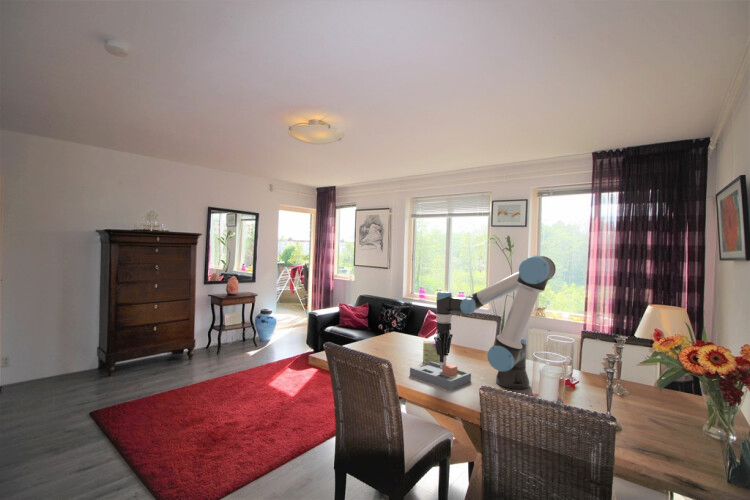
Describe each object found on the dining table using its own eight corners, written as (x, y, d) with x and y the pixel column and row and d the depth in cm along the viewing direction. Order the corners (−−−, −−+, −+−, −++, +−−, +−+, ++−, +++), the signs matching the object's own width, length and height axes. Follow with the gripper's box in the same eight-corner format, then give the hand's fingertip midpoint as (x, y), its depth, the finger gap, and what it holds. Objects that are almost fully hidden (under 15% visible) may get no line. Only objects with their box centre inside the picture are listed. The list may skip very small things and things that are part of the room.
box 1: (440, 361, 206) (441, 341, 207) (441, 364, 201) (442, 343, 201) (422, 360, 207) (423, 340, 208) (423, 363, 202) (423, 343, 202)
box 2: (470, 381, 175) (470, 373, 175) (450, 390, 164) (450, 381, 164) (430, 368, 194) (430, 361, 194) (409, 375, 182) (409, 367, 182)
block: (457, 374, 178) (457, 366, 178) (451, 376, 175) (451, 368, 175) (448, 371, 182) (448, 363, 182) (442, 373, 179) (442, 365, 179)
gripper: (445, 319, 189) (444, 363, 189) (429, 322, 180) (429, 369, 180) (457, 321, 183) (456, 367, 183) (441, 324, 175) (441, 372, 174)
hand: (443, 368), depth 181 cm, fingers closed
